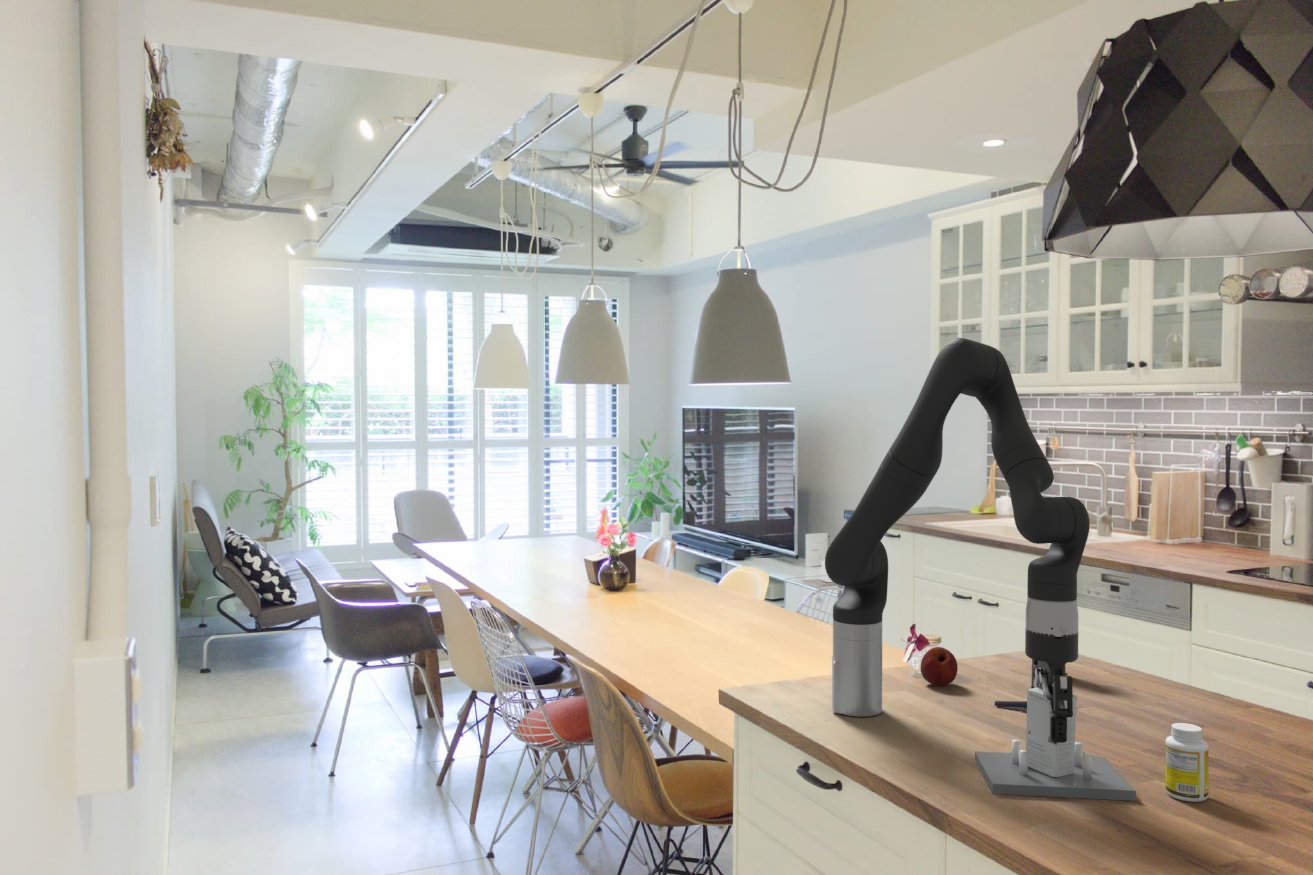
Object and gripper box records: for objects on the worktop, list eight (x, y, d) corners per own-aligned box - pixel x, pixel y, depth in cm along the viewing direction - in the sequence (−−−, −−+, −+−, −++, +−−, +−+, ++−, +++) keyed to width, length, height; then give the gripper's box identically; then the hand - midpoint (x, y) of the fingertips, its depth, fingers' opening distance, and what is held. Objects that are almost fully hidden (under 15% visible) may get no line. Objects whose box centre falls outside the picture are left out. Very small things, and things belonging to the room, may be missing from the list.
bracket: (1017, 733, 172) (1017, 717, 172) (994, 708, 187) (994, 693, 187) (1100, 735, 171) (1100, 719, 171) (1071, 710, 186) (1071, 695, 186)
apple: (919, 688, 198) (919, 649, 198) (920, 678, 206) (921, 641, 206) (957, 691, 196) (957, 652, 196) (957, 681, 204) (957, 643, 203)
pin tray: (992, 793, 143) (992, 760, 143) (974, 760, 156) (974, 729, 156) (1135, 800, 140) (1136, 766, 140) (1104, 766, 154) (1105, 735, 154)
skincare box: (1023, 766, 150) (1024, 688, 150) (1043, 761, 152) (1044, 684, 152) (1056, 779, 144) (1057, 698, 144) (1077, 774, 146) (1077, 694, 146)
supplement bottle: (1189, 787, 145) (1190, 719, 145) (1217, 802, 139) (1218, 731, 139) (1156, 790, 144) (1157, 721, 144) (1182, 804, 139) (1183, 733, 138)
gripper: (1015, 617, 155) (1014, 717, 156) (1037, 637, 141) (1036, 747, 142) (1064, 618, 154) (1063, 719, 155) (1091, 638, 140) (1090, 749, 140)
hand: (1050, 732), depth 148 cm, fingers open, 8 cm apart
